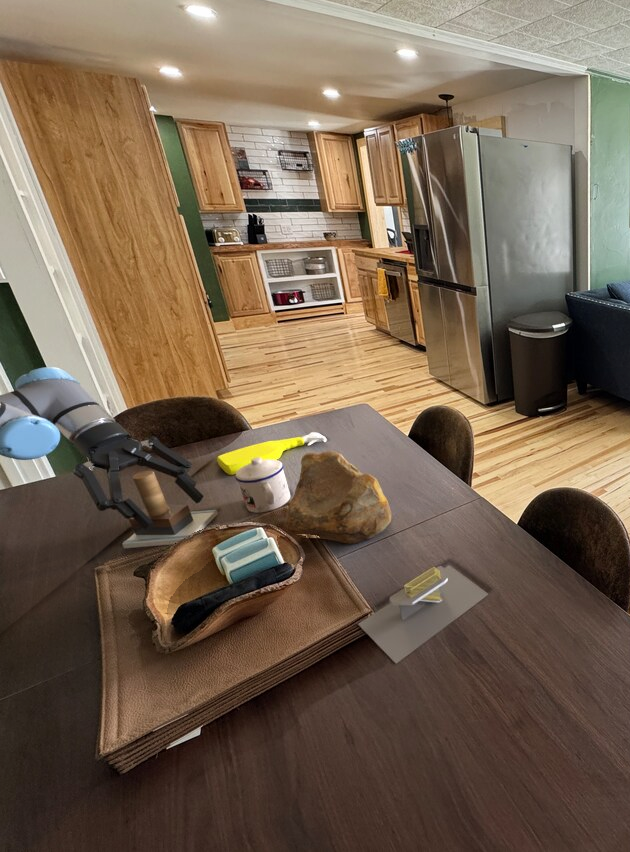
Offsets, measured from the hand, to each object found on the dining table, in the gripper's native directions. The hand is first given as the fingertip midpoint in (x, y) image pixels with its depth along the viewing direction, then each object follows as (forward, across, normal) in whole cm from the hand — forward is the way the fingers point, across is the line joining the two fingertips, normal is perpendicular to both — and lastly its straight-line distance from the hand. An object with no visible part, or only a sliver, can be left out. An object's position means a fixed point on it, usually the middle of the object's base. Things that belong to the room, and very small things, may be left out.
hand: (175, 512), depth 98 cm
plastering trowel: (+47, +1, +39) cm, 61 cm away
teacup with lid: (+9, -14, +2) cm, 17 cm away
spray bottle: (-5, -32, -13) cm, 35 cm away
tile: (+2, 0, -6) cm, 6 cm away
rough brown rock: (+24, -11, +16) cm, 32 cm away
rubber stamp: (0, +1, -6) cm, 6 cm away
